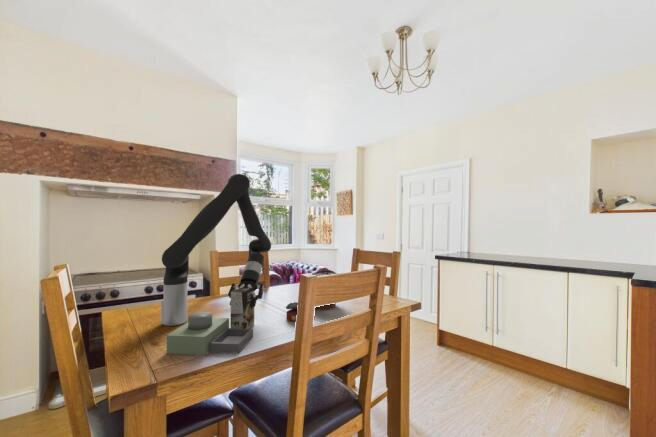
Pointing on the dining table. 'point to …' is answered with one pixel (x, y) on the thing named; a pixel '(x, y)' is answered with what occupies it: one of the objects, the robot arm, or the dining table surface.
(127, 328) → the dining table surface
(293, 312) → the canned food
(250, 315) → the coffee box
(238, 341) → the grey-green blocky piece
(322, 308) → the case
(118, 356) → the dining table surface
